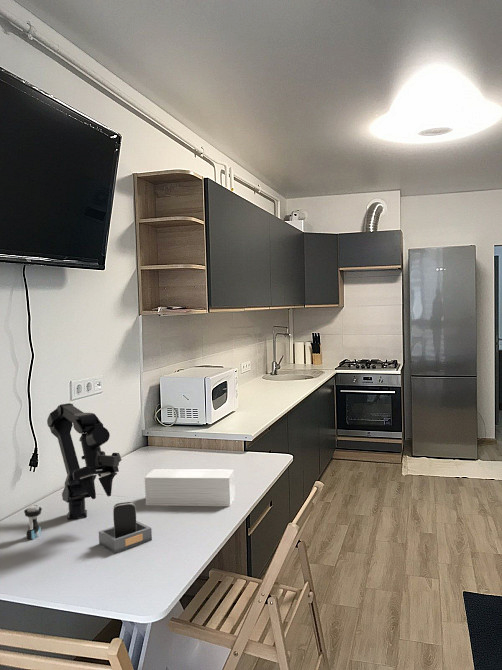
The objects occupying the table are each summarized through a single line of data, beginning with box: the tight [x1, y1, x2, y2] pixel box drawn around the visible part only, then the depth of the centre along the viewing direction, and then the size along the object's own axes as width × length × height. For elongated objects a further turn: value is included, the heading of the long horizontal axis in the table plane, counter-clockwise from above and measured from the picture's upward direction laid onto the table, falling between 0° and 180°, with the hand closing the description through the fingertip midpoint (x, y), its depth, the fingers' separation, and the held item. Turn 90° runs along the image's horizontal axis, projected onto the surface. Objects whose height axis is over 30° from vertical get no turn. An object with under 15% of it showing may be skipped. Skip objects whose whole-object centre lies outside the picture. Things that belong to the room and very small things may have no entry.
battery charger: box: [112, 501, 137, 538], centre depth 180 cm, size 7×4×11 cm, turn 106°
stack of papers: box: [144, 468, 236, 507], centre depth 215 cm, size 32×11×11 cm, turn 82°
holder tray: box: [98, 520, 153, 554], centre depth 179 cm, size 10×13×4 cm
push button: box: [23, 504, 43, 540], centre depth 187 cm, size 7×5×10 cm
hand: (102, 497), depth 186 cm, fingers open, 9 cm apart
